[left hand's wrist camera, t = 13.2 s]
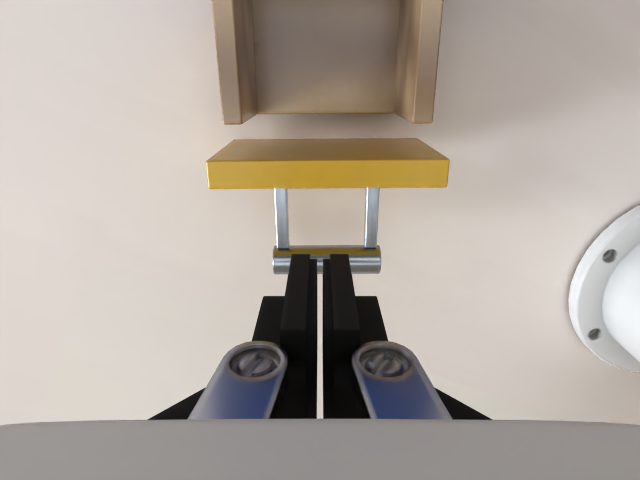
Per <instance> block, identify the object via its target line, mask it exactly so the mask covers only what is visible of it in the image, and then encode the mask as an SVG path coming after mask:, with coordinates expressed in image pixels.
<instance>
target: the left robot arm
mask: <svg viewBox="0 0 640 480" xmlns="http://www.w3.org/2000/svg"><path fill="white" fill-rule="evenodd" d="M568 302H569V316H570V319H571V322H572V325H573V328H574V330H575V332H576V333H577V335H578V337H579V338H580V340H581V341H582V342H583V343H584V344H585V345H586V346H587V347H588V348H589V350H590V351H591V352H592V353H593V354H594V355H596V356H597V357H598V358H600V359H601V360H602V361H604V362H605V363H607V364H609V365H612V366H614V367H616V368H618V369H622V370H626V371H630V372H635V373H640V205H638V206H636V207H634V208H633V209H631V210H630V211H628V212H627V213H625V214H624V215H622V216H621V217H619V218H617V219H616V220H615V221H614V222H613V223H612V224H611V225H610V226H608V227H607V228H606V229H605V230H604V231H603V232H602V233H601V234H600V235H599V236H598V237H597V238H596V240H595V241H594V242H593V243H592V244H591V246H590V247H589V248H588V249H587V251H586V252H585V254H584V256H583V257H582V259H581V261H580V263H579V264H578V266H577V268H576V271H575V274H574V276H573V279H572V282H571V286H570V293H569V299H568ZM0 480H640V425H632V424H622V423H604V422H576V421H540V420H492V419H490V418H488V417H487V416H485V415H483V414H481V413H479V412H478V411H476V410H474V409H472V408H470V407H469V406H467V405H465V404H463V403H461V402H460V401H458V400H456V399H454V398H452V397H450V396H449V395H447V394H445V393H443V392H441V391H440V390H438V389H436V388H434V387H433V385H432V383H431V381H430V380H429V378H428V376H427V375H426V373H425V371H424V369H423V368H422V366H421V364H420V362H419V361H418V359H417V357H416V356H415V355H414V354H413V352H412V351H410V350H409V349H408V348H406V347H405V346H402V345H400V344H397V343H394V342H389V341H388V339H387V335H386V331H385V327H384V323H383V319H382V315H381V311H380V307H379V303H378V300H377V297H376V296H355V292H354V286H353V280H352V273H351V267H350V261H349V255H348V254H330V259H323V419H317V259H310V254H292V255H291V261H290V267H289V273H288V280H287V286H286V292H285V296H264V297H263V300H262V303H261V307H260V311H259V315H258V319H257V323H256V327H255V331H254V335H253V339H252V341H251V342H246V343H243V344H240V345H238V346H235V347H234V348H232V349H231V350H230V351H228V352H227V354H226V355H225V356H224V357H223V359H222V361H221V362H220V364H219V366H218V368H217V369H216V371H215V373H214V375H213V376H212V378H211V380H210V381H209V383H208V385H207V387H206V388H204V389H202V390H200V391H199V392H197V393H195V394H193V395H191V396H189V397H188V398H186V399H184V400H182V401H180V402H179V403H177V404H175V405H173V406H171V407H170V408H168V409H166V410H164V411H162V412H161V413H159V414H157V415H155V416H153V417H152V418H150V419H148V420H106V421H64V422H36V423H18V424H8V425H0Z"/></svg>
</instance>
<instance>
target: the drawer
mask: <svg viewBox="0 0 640 480" xmlns="http://www.w3.org/2000/svg"><path fill="white" fill-rule="evenodd" d="M212 5H213V16H214V28H215V39H216V50H217V61H218V72H219V83H220V95H221V106H222V117H223V123H224V124H225V125H227V124H243V123H244V122H246V121H247V120H249V119H250V118H252V117H254V116H255V115H257V114H350V113H395V114H397V115H399V116H401V117H403V118H405V119H407V120H408V121H410V122H412V123H432V121H433V110H434V99H435V88H436V76H437V65H438V54H439V43H440V32H441V20H442V9H443V0H212ZM449 162H450V160H449V159H448V158H446V157H445V156H443V155H442V154H440V153H439V152H437V151H436V150H434V149H433V148H431V147H430V146H428V145H427V144H425V143H424V142H422V141H421V140H419V139H417V138H396V139H252V140H233V141H232V142H231V143H229V144H228V145H227V146H225V147H224V148H223V149H221V150H220V151H219V152H217V153H216V154H215V155H214V156H212V157H211V158H210V159H208V160H207V161H206V168H207V177H208V187H209V189H274V195H275V216H276V236H277V246H274V249H273V271H274V274H288V273H289V267H290V261H291V255H292V254H310V259H317V274H323V259H330V254H348V255H349V261H350V267H351V273H352V274H379V273H380V270H381V251H380V246H379V245H377V227H378V206H379V188H432V187H446V186H447V181H448V172H449ZM287 188H366V200H365V229H364V245H301V246H289V221H288V194H287Z"/></svg>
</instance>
